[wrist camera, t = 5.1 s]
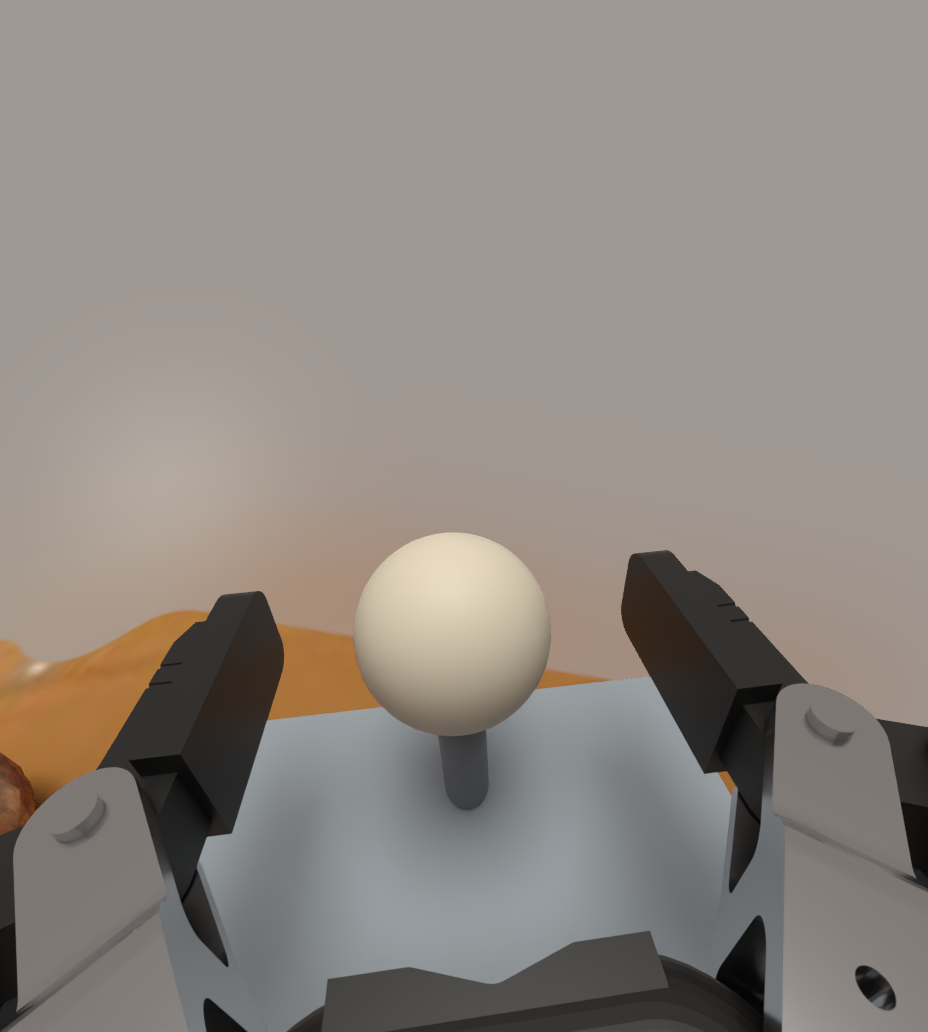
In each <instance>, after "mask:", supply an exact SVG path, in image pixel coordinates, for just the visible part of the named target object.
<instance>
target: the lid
mask: <svg viewBox="0 0 928 1032" xmlns="http://www.w3.org/2000/svg"><path fill="white" fill-rule="evenodd" d="M550 642H551V627H550V617H549V612H548V608H547V604H546V600H545V598H544V595H543V593H542V591H541V588H540V586H539V584H538V583H537V581H536V579H535V578H534V577H533V575H532V573H531V572H530V570H529V569H528V568H527V567H526V566H525V565H524V564H523V563H522V562H521V561H520V559H519V558H517V557H516V556H515V555H514V554H512V553H511V552H510V551H509V550H507V549H506V548H504V547H503V546H501V545H499V544H497V543H495V542H493V541H491V540H489V539H486V538H483V537H480V536H476V535H473V534H467V533H440V534H434V535H430V536H426V537H423V538H420V539H417V540H414V541H412V542H410V543H408V544H406V545H405V546H403V547H401V548H400V549H398V550H397V551H395V552H394V553H393V554H391V555H390V556H389V557H388V558H387V559H386V560H385V561H384V562H383V563H382V564H381V565H380V566H379V567H378V568H377V570H376V571H375V572H374V574H373V575H372V577H371V578H370V580H369V581H368V583H367V585H366V586H365V589H364V591H363V593H362V595H361V598H360V600H359V603H358V607H357V611H356V615H355V620H354V648H355V655H356V660H357V663H358V666H359V669H360V672H361V675H362V678H363V680H364V681H365V683H366V685H367V687H368V689H369V690H370V692H371V694H372V695H373V696H374V698H375V699H376V700H377V701H378V703H379V704H380V705H381V706H382V707H380V708H371V709H363V710H354V711H346V712H337V713H328V714H320V715H311V716H302V717H294V718H285V719H276V720H268V721H267V722H266V725H265V729H264V732H263V735H262V738H261V742H260V745H259V748H258V751H257V754H256V758H255V761H254V764H253V767H252V771H251V774H250V777H249V780H248V784H247V787H246V790H245V793H244V796H243V800H242V803H241V806H240V809H239V813H238V816H237V819H236V822H235V826H234V829H233V832H232V834H226V835H218V836H211V837H207V838H206V841H205V844H204V847H203V850H202V853H201V855H200V858H199V861H200V863H201V865H202V867H203V870H204V872H205V875H206V878H207V881H208V884H209V886H210V889H211V892H212V895H213V898H214V901H215V903H216V906H217V909H218V912H219V915H220V918H221V920H222V923H223V926H224V929H225V932H226V935H227V937H228V940H229V943H230V946H231V949H232V951H233V954H234V957H235V960H236V963H237V965H238V968H239V970H240V973H241V975H242V977H243V979H244V981H245V983H246V985H247V987H248V989H249V990H250V992H251V994H252V996H253V998H254V1000H255V1002H256V1004H257V1006H258V1008H259V1010H260V1012H261V1015H262V1017H263V1019H264V1022H265V1024H266V1027H267V1029H268V1032H287V1031H288V1030H289V1029H290V1028H291V1027H292V1026H294V1025H295V1024H296V1023H298V1022H299V1021H300V1020H302V1019H303V1018H305V1017H306V1016H307V1015H309V1014H310V1013H312V1012H313V1011H314V1010H316V1009H318V1008H320V1007H322V1006H324V1005H325V997H326V989H327V980H328V979H331V978H338V977H345V976H351V975H358V974H365V973H371V972H378V971H385V970H391V969H398V968H405V967H412V968H417V969H422V970H426V971H431V972H435V973H440V974H445V975H449V976H454V977H459V978H463V979H468V980H472V981H477V982H482V983H487V984H496V983H500V982H502V981H504V980H506V979H508V978H510V977H512V976H513V975H515V974H517V973H519V972H520V971H522V970H524V969H526V968H528V967H529V966H531V965H533V964H535V963H537V962H538V961H540V960H542V959H544V958H546V957H547V956H549V955H551V954H553V953H555V952H556V951H558V950H560V949H562V948H564V947H565V946H567V945H569V944H571V943H573V942H578V941H584V940H591V939H598V938H604V937H611V936H618V935H624V934H631V933H638V932H644V931H650V932H651V935H652V938H653V941H654V944H655V947H656V950H657V953H658V954H659V955H664V956H668V957H670V958H673V959H676V960H678V961H681V962H684V963H687V964H689V965H691V966H693V967H695V968H697V969H698V970H700V971H702V972H704V973H705V968H706V960H707V954H708V948H709V942H710V938H711V933H712V929H713V925H714V922H715V919H716V916H717V912H718V907H719V903H720V897H721V889H722V880H723V871H724V862H725V853H726V844H727V835H728V826H729V817H730V807H731V798H732V796H731V795H730V793H729V791H728V790H727V788H726V786H725V784H724V783H723V781H722V779H721V777H720V776H719V774H718V772H716V773H708V774H704V773H703V771H702V769H701V767H700V766H699V764H698V762H697V760H696V758H695V756H694V755H693V753H692V751H691V749H690V747H689V746H688V744H687V742H686V740H685V738H684V737H683V735H682V733H681V731H680V729H679V728H678V726H677V724H676V722H675V720H674V718H673V717H672V715H671V713H670V711H669V709H668V708H667V706H666V704H665V702H664V700H663V699H662V697H661V695H660V693H659V691H658V689H657V688H656V686H655V684H654V682H653V680H652V679H651V677H650V676H648V677H640V678H631V679H622V680H613V681H605V682H596V683H587V684H579V685H570V686H562V687H553V688H544V689H536V690H535V688H536V687H537V685H538V683H539V681H540V679H541V677H542V675H543V672H544V670H545V667H546V664H547V660H548V656H549V650H550Z"/></svg>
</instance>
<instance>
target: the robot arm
mask: <svg viewBox="0 0 928 1032" xmlns="http://www.w3.org/2000/svg"><path fill="white" fill-rule="evenodd" d="M621 615H622V621H623V625H624V628H625V631H626V633H627V635H628V637H629V639H630V641H631V642H632V644H633V646H634V648H635V650H636V651H637V653H638V655H639V657H640V658H641V660H642V662H643V664H644V666H645V668H646V670H647V671H648V673H649V675H650V677H651V679H652V680H653V682H654V684H655V686H656V688H657V689H658V691H659V693H660V695H661V697H662V699H663V700H664V702H665V704H666V706H667V708H668V709H669V711H670V713H671V715H672V717H673V718H674V720H675V722H676V724H677V726H678V728H679V729H680V731H681V733H682V735H683V737H684V738H685V740H686V742H687V744H688V746H689V747H690V749H691V751H692V753H693V755H694V756H695V758H696V760H697V762H698V764H699V766H700V767H701V769H702V771H703V773H704V774H708V773H716V772H723V771H727V772H728V773H729V775H730V777H731V778H732V780H733V782H734V783H735V787H734V789H733V793H732V798H731V807H730V817H729V826H728V835H727V844H726V853H725V862H724V871H723V880H722V889H721V897H720V903H719V907H718V912H717V916H716V919H715V922H714V925H713V929H712V933H711V938H710V942H709V948H708V954H707V960H706V968H705V973H704V972H702V971H700V970H698V969H697V968H695V967H693V966H691V965H689V964H687V963H684V962H681V961H678V960H676V959H673V958H670V957H668V956H664V955H659V954H658V953H657V950H656V947H655V944H654V941H653V938H652V935H651V932H650V931H644V932H638V933H631V934H624V935H618V936H611V937H604V938H598V939H591V940H584V941H578V942H573V943H571V944H569V945H567V946H565V947H564V948H562V949H560V950H558V951H556V952H555V953H553V954H551V955H549V956H547V957H546V958H544V959H542V960H540V961H538V962H537V963H535V964H533V965H531V966H529V967H528V968H526V969H524V970H522V971H520V972H519V973H517V974H515V975H513V976H512V977H510V978H508V979H506V980H504V981H502V982H500V983H496V984H487V983H482V982H477V981H472V980H468V979H463V978H459V977H454V976H449V975H445V974H440V973H435V972H431V971H426V970H422V969H417V968H412V967H405V968H398V969H391V970H385V971H378V972H371V973H365V974H358V975H351V976H345V977H338V978H331V979H328V980H327V989H326V997H325V1005H324V1006H322V1007H320V1008H318V1009H316V1010H314V1011H313V1012H312V1013H310V1014H309V1015H307V1016H306V1017H305V1018H303V1019H302V1020H300V1021H299V1022H298V1023H296V1024H295V1025H294V1026H292V1027H291V1028H290V1029H289V1030H288V1031H287V1032H928V727H923V726H916V725H911V724H905V723H898V722H892V721H886V720H880V719H875V718H874V716H873V715H872V714H870V713H869V712H868V711H867V710H866V709H864V707H862V706H861V705H860V704H858V703H857V702H855V701H854V700H852V699H850V698H849V697H847V696H845V695H843V694H841V693H839V692H837V691H834V690H832V689H829V688H826V687H823V686H819V685H814V684H808V683H807V682H806V681H805V680H804V678H803V677H802V676H801V675H800V674H799V673H798V672H797V671H796V670H795V669H794V667H793V666H792V665H791V664H790V663H789V662H788V661H787V660H786V659H785V658H784V657H783V655H782V654H781V653H780V652H779V651H778V650H777V649H776V648H775V646H774V645H773V644H772V643H771V642H770V641H769V640H768V639H767V638H766V636H765V635H764V634H763V633H762V632H761V631H760V630H759V629H758V628H757V627H756V625H755V624H754V623H753V622H749V618H748V617H747V615H746V614H745V613H744V612H743V611H742V610H741V609H740V608H739V607H736V606H735V602H734V601H733V600H732V599H731V598H730V597H729V596H728V594H727V593H726V592H725V591H724V590H723V589H722V588H721V587H720V586H719V585H718V584H716V583H715V582H713V581H712V580H710V579H708V578H706V577H705V576H703V575H702V574H700V573H699V572H697V571H687V570H686V568H685V567H684V566H683V565H682V564H681V563H680V561H679V560H678V559H677V558H676V557H675V555H674V554H673V553H671V552H670V551H667V550H665V551H655V552H645V553H635V554H633V555H631V557H630V559H629V563H628V570H627V575H626V581H625V587H624V593H623V599H622V606H621ZM283 664H284V649H283V643H282V640H281V637H280V635H279V632H278V629H277V626H276V624H275V621H274V619H273V616H272V613H271V610H270V608H269V605H268V602H267V599H266V597H265V595H264V594H263V593H262V592H260V591H256V592H247V593H236V594H226V595H222V596H220V598H218V600H217V602H216V603H215V605H214V607H213V609H212V611H211V612H210V614H209V616H208V618H207V620H206V621H204V622H196V623H195V624H193V625H192V626H191V627H190V628H189V629H188V630H187V631H186V632H185V633H184V634H183V635H181V636H180V637H179V638H178V639H177V640H176V641H175V642H174V643H173V645H172V646H171V648H170V650H169V651H168V653H167V655H166V656H165V658H164V660H163V661H162V663H161V668H160V669H158V670H157V671H156V673H155V674H154V676H153V678H152V679H151V681H150V683H149V688H148V689H145V691H144V693H143V694H142V696H141V698H140V699H139V701H138V703H137V704H136V706H135V707H134V709H133V711H132V712H131V714H130V716H129V717H128V719H127V721H126V722H125V724H124V726H123V727H122V729H121V731H120V732H119V734H118V736H117V737H116V739H115V740H114V742H113V744H112V745H111V747H110V749H109V750H108V752H107V754H106V755H105V757H104V759H103V760H102V762H101V764H100V765H99V766H98V768H97V769H96V770H95V771H92V772H89V773H87V774H84V775H82V776H80V777H78V778H76V779H74V780H73V781H71V782H69V783H68V784H66V785H65V786H63V787H62V788H60V789H59V790H58V791H57V792H55V793H54V794H53V795H52V796H50V797H49V798H48V799H47V800H46V801H45V802H44V803H43V804H42V805H41V806H40V807H39V808H38V809H37V810H36V811H35V812H34V814H33V815H32V816H31V817H30V819H29V820H28V821H27V823H26V824H25V825H24V826H22V827H19V828H17V829H14V830H12V831H9V832H7V833H4V834H2V835H0V1032H268V1029H267V1027H266V1024H265V1022H264V1019H263V1017H262V1015H261V1012H260V1010H259V1008H258V1006H257V1004H256V1002H255V1000H254V998H253V996H252V994H251V992H250V990H249V989H248V987H247V985H246V983H245V981H244V979H243V977H242V975H241V973H240V970H239V968H238V965H237V963H236V960H235V957H234V954H233V951H232V949H231V946H230V943H229V940H228V937H227V935H226V932H225V929H224V926H223V923H222V920H221V918H220V915H219V912H218V909H217V906H216V903H215V901H214V898H213V895H212V892H211V889H210V886H209V884H208V881H207V878H206V875H205V872H204V870H203V867H202V865H201V863H200V861H199V858H200V855H201V853H202V850H203V847H204V844H205V841H206V838H207V837H211V836H218V835H226V834H232V832H233V829H234V826H235V822H236V819H237V816H238V813H239V809H240V806H241V803H242V800H243V796H244V793H245V790H246V787H247V784H248V780H249V777H250V774H251V771H252V767H253V764H254V761H255V758H256V754H257V751H258V748H259V745H260V742H261V738H262V735H263V732H264V729H265V725H266V722H267V719H268V716H269V712H270V709H271V706H272V703H273V700H274V696H275V693H276V690H277V687H278V683H279V680H280V677H281V674H282V670H283Z"/></svg>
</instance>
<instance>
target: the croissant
mask: <svg viewBox="0 0 928 1032" xmlns="http://www.w3.org/2000/svg"><path fill="white" fill-rule="evenodd" d="M33 798H34V791H33V789H32V787H31V784H30V782H29V780H28V779H27V778H26V776H25V775H24V773H23V771H22V769H21V767H20V766H18V765H17V764H16V763H14V762H13V761H12V760H10V759H9V758H8V757H6V756H5V755H3V754H2V753H0V835H2V834H4V833H7V832H9V831H12V830H14V829H17V828H19V827H22V826H24V825H25V824H26V823H27V821H28V820H29V819H30V817H31V816H32V815H33V814H34V812H35V809H36V805H37V803H36V802H35V800H34V799H33Z"/></svg>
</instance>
